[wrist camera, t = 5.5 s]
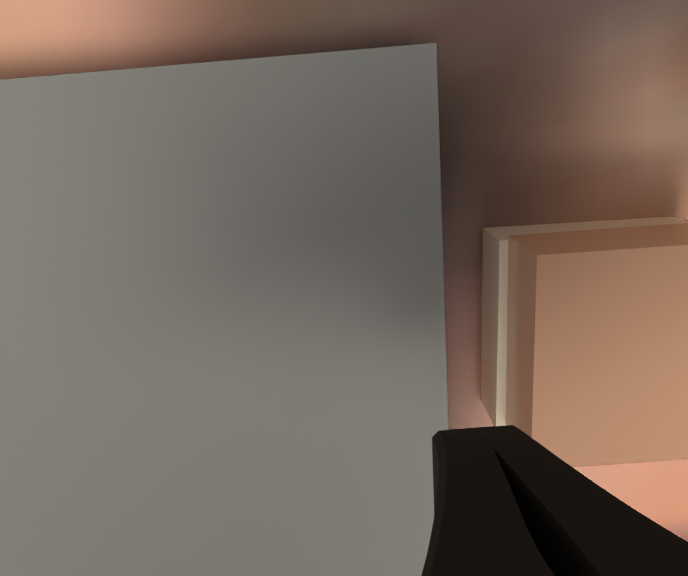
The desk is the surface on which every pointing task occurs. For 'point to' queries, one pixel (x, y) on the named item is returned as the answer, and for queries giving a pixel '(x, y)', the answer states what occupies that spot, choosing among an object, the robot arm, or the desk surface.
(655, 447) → the terracotta tile
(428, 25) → the desk surface
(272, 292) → the slate plate
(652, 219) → the beige square tray
